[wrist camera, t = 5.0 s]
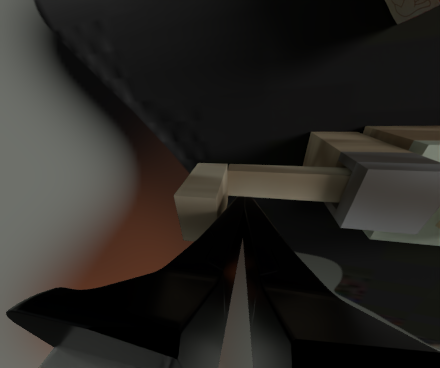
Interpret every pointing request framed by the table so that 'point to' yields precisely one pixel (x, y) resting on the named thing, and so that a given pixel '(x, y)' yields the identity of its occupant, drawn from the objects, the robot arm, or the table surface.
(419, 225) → the toolbox
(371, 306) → the table surface
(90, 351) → the robot arm
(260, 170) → the wooden mallet
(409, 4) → the stack of blocks
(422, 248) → the table surface
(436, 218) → the plate with block handle
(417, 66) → the table surface
